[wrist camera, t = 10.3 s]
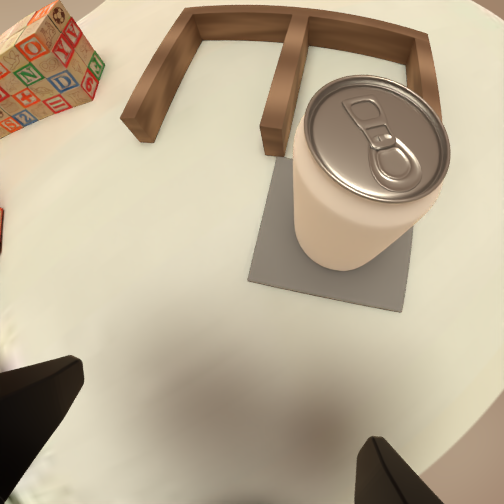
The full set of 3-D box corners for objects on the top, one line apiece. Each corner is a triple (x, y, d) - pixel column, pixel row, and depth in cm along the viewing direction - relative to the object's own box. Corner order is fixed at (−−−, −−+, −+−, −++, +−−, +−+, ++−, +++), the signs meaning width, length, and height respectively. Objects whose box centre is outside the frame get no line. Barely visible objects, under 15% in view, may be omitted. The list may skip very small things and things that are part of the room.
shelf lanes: (425, 188, 21) (445, 166, 18) (139, 142, 26) (119, 118, 22) (417, 60, 24) (427, 33, 20) (194, 33, 28) (185, 7, 25)
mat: (400, 312, 20) (401, 312, 20) (248, 281, 22) (247, 280, 21) (414, 187, 22) (415, 185, 21) (277, 158, 24) (276, 156, 23)
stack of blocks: (-12, 146, 31) (-65, 109, 19) (1, 112, 32) (-46, 73, 20) (94, 101, 28) (33, 31, 16) (107, 63, 30) (58, -4, 18)
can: (311, 285, 21) (334, 242, 9) (281, 199, 22) (266, 86, 11) (396, 254, 20) (487, 188, 9) (362, 174, 22) (406, 59, 10)
